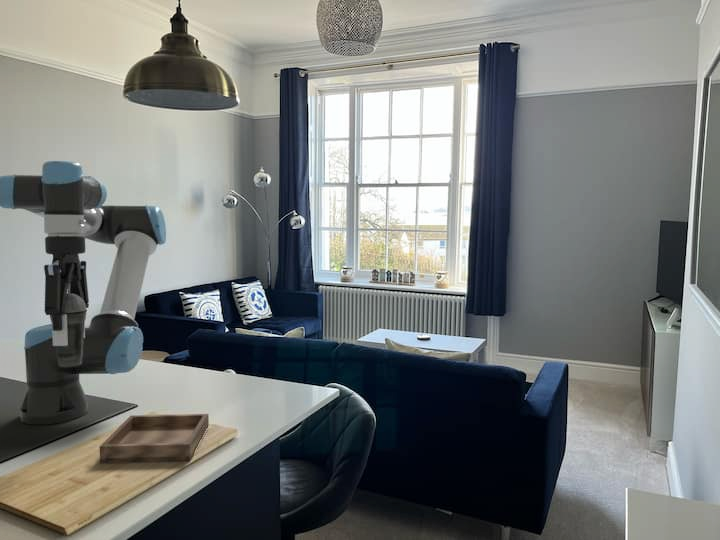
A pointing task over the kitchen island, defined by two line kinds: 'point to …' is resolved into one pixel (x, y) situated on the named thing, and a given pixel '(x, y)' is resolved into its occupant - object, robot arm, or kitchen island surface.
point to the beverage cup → (73, 331)
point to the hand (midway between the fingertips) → (69, 341)
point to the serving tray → (155, 438)
